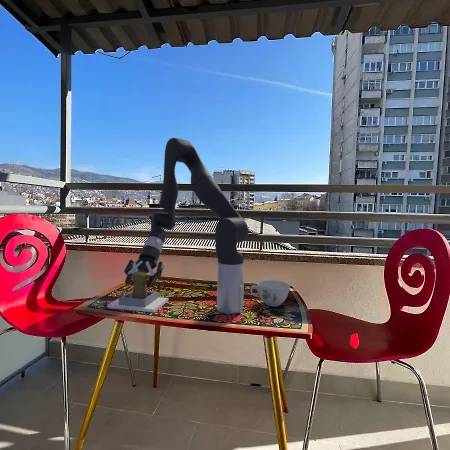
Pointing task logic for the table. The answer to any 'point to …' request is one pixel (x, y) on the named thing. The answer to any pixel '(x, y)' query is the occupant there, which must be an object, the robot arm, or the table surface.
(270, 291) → the teacup
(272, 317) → the table surface
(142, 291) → the cork
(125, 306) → the socket board
